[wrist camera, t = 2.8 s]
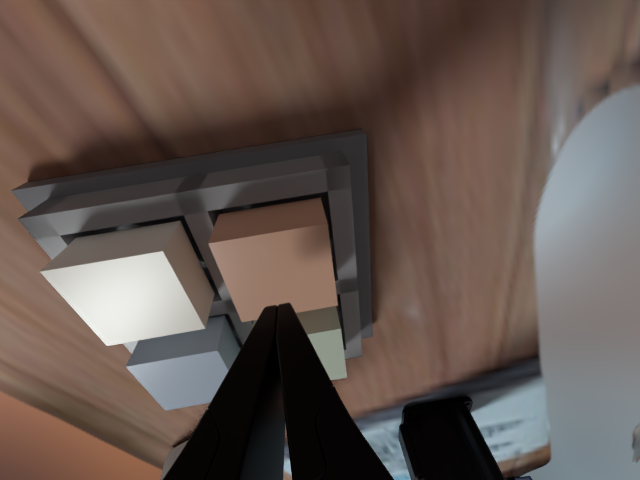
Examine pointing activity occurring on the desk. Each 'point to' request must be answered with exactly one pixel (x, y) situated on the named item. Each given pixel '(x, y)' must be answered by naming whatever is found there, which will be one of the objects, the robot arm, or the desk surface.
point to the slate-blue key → (185, 364)
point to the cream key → (134, 283)
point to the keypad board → (224, 210)
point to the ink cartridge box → (523, 478)
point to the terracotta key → (275, 257)
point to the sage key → (325, 339)
